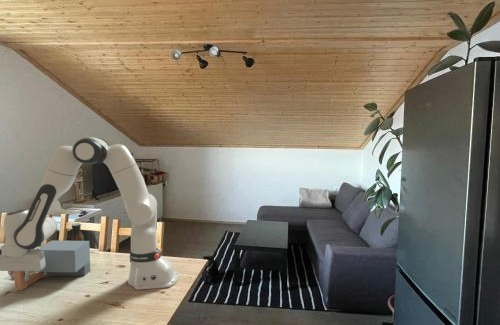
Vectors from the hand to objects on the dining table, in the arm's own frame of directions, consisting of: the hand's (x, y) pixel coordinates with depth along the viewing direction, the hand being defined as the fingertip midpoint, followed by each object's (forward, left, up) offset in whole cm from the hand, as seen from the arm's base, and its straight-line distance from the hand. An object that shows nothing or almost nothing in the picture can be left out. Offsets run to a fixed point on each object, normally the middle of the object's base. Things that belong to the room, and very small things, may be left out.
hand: (20, 280), depth 126 cm
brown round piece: (+1, -10, -4) cm, 10 cm away
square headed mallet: (-1, -5, -4) cm, 6 cm away
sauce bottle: (-8, -29, -4) cm, 30 cm away
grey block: (-11, -12, -4) cm, 17 cm away
